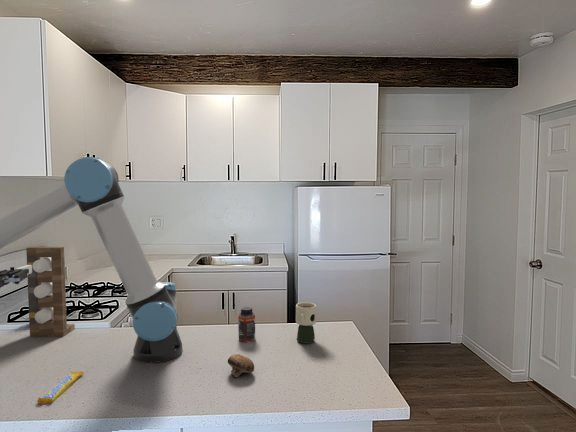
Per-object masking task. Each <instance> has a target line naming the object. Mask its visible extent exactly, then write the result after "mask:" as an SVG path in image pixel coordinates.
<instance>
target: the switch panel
mask: <svg viewBox="0 0 576 432" xmlns="http://www.w3.org/2000/svg"><path fill="white" fill-rule="evenodd" d="M25 250H26V251H25V253H26V265H32V273H31V274H28V275H27V295H28V296H27V299H28V302H27V303H28V321H29V322H28V323H29V337H32V338H33V337H35V338H37V337H41V338H45V337H49V338H50V337H57V338H58V337H63V338H64V337H65V336H67V335H68V334H69V333H71V332H73V331H74V330H76V329H75V328H76V327H75V325H76V324H75V323H68V322H67V318H68V317H67V298H66V297H67V296H66V291H67V289H66V267H65V266H66V265H65V247H64V246H29V247H26V249H25ZM46 257H51V267H52V269H51V270H46V271H44V272H41V273H38V272H36V271H34V269H33V263H34V262H35V261H37V260H40V259H41V258H46ZM44 283H52V294H53V295H47V296H45V297H43V298H37V297H36V296H35V295H34V289H35V287H37V286H39V285H42V284H44ZM42 308H53V320H48V321H46V322H45V323H38V322H37V321H36V320H35V314H36V313H37V312H39V311H41V310H42Z"/></svg>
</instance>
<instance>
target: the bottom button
mask: <svg viewBox="0 0 576 432" xmlns="http://www.w3.org/2000/svg"><path fill="white" fill-rule="evenodd" d="M52 318H53V308H44V309H42V310H41V311H39V312H37V313H36V314H35V320H36V321H37V322H38V323H45V322H46V321H48V320H50V319H52Z"/></svg>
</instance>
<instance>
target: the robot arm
mask: <svg viewBox="0 0 576 432" xmlns="http://www.w3.org/2000/svg"><path fill="white" fill-rule="evenodd" d="M119 179H120V178H119V174H118V171H117V170H116V168H115V167H114V166H113V165H112V164H111V163H110V162H109V161H106V160H103V159H101V158H99V157H94V156H86V157H80V158H78V159H76V160H75V161H73V162H71V163H70V164H69V165H68V167H67V169H66V170H65V172H64V178H63V180H64V181H63V182H64V183H63V184H62V185H60V186H58V187H57V188H55V189H52V190H51V191H49V192H47V193H44V194H43V195H42V196H40V197H38V198H36V199H34V200H33V201H30V202H28V203H27V204H25V205H23V206H22V207H19V208H17V209H16V210H14V211H13V212H10V213H9V214H6V215H4V216H3V217H1V218H0V250H2V249H4V248H5V247H8V246H9V245H10V244H13V243H14V242H16V241H18V240H20V239H21V238H24V237H25V236H28V235H29V234H30V233H32V232H35V231H36V230H38V229H40V228H41V227H43V226H45V225H47V224H49V223H51V222H53V221H54V220H56V219H58V218H60V217H62V216H64V215H65V214H67V213H69V212H70V211H73V210H74V209H76V208H78V207H79V210H80V211H81V213H82V214H83V215H85V216H88V217H90V218H91V220H92V222H93V224H94V226H95V230H96V231H97V233H98V235H99V237H100V239H101V241H102V243H103V245H104V247H105V250H106V252H107V253H108V255H109V256H108V257H109V258H110V260H111V262H112V264H113V266H114V269H115V271H116V272H117V274H118V277H119V280H120V281H121V283H122V285H123V287H124V289H125V292H126V294H127V297H126V299H125V302H124V303H125V305H126V307H127V309H128V311H129V314H130V316H131V318H132V328H133V329H134V332H135V333H136V335H137V337H136V341H135V343H134V345H133V346H134V347H133V359H135V360H136V361H139V362H142V363H162V362H167V361H170V360H173V359H176V358H178V357H179V356H181V354H182V353H183V351H184V350H183V342H182V339H181V336H180V333H179V331H178V327H177V325H178V324H177V323H178V313H177V308H178V307H177V291H178V289H177V285H176V284H175V283H174V282H170V281H168V282H167V281H165V282H164V281H162V282H161V281H158V280H157V279H156V275H155V274H154V271H153V269H152V266H151V265H150V263H149V260H148V259H147V256H146V254H145V252H144V250H143V248H142V245H141V243H140V241H139V239H138V237H137V235H136V233H135V230H134V228H133V225H132V224H131V222H130V219H129V218H128V215H127V213H126V211H125V209H124V207H123V203H124V200H125V198H126V197H125V195H124V193H123V191H122V188H121V186H120V183H119ZM31 273H32V265H27V264H26V265H23V266H20V267H17V268H15V266H10V267H9V270H8V269H2V270H0V289H1V288H3V287H5V286H7V285H9V284H10V283H12V284H14V285H18V284H20V282H22V281H24V280H26V279H28V277H27V275H28V274H31Z"/></svg>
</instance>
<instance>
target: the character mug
mask: <svg viewBox="0 0 576 432" xmlns="http://www.w3.org/2000/svg"><path fill="white" fill-rule="evenodd" d="M295 323H296V324H297V325H298V328H297V332H296V333H297V334H296V340H297V342H299V343H300V342H301V343H303V344H311V343H314V342H315V341H316V338H315V337H316V336H315V329H314V325H315V324H316V323H317V304H315V303H313V302H298V303H296V305H295Z"/></svg>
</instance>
